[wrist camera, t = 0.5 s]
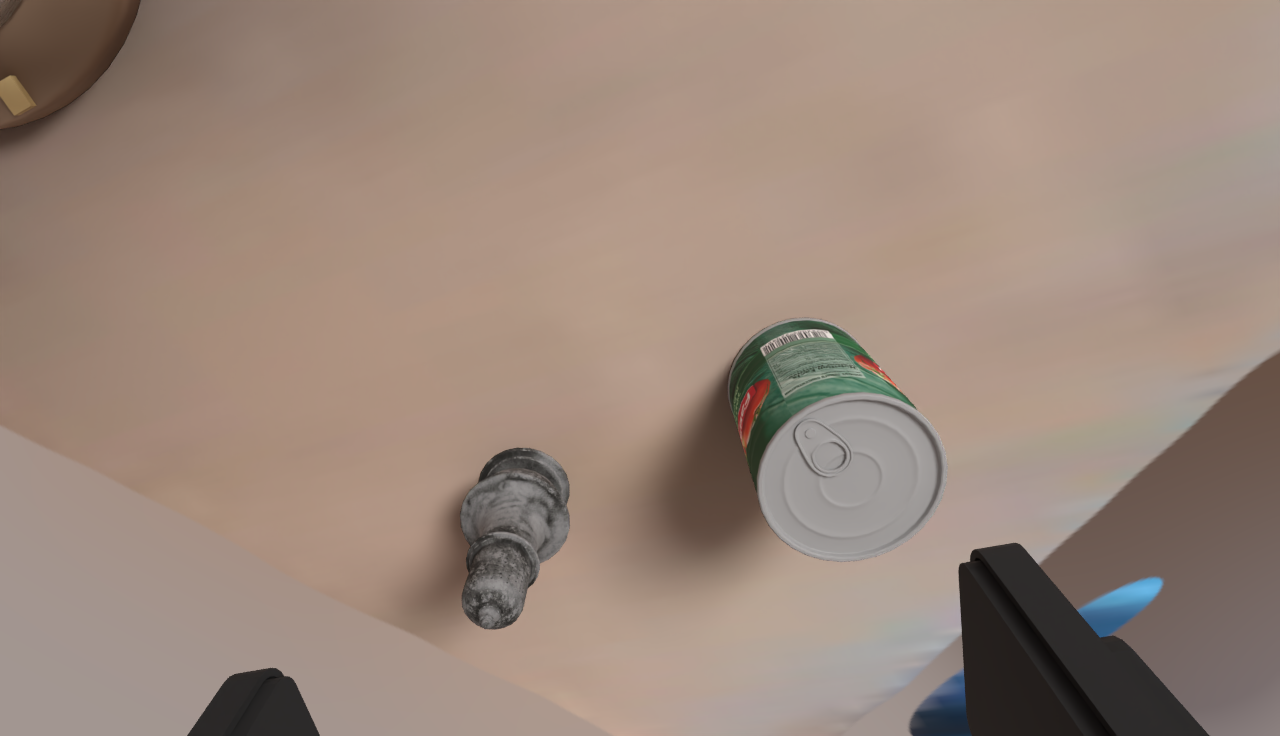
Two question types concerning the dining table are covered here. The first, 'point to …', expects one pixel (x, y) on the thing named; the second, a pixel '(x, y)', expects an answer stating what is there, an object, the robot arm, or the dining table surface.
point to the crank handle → (7, 9)
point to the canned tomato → (832, 443)
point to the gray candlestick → (511, 532)
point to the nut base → (57, 53)
